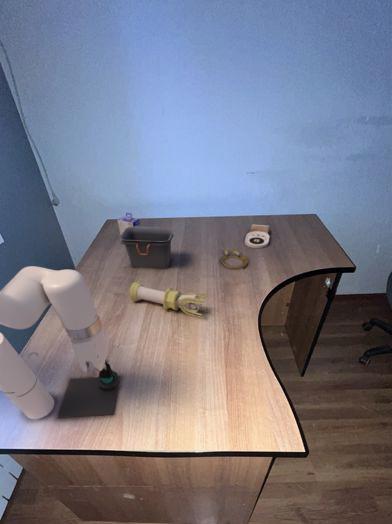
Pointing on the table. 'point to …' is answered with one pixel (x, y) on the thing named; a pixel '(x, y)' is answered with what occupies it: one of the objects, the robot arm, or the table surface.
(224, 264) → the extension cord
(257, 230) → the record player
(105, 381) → the scale button
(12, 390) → the cylindrical container
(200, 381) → the table surface
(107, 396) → the scale
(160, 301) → the trophy
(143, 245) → the storage bin
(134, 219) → the white purple upright piece
